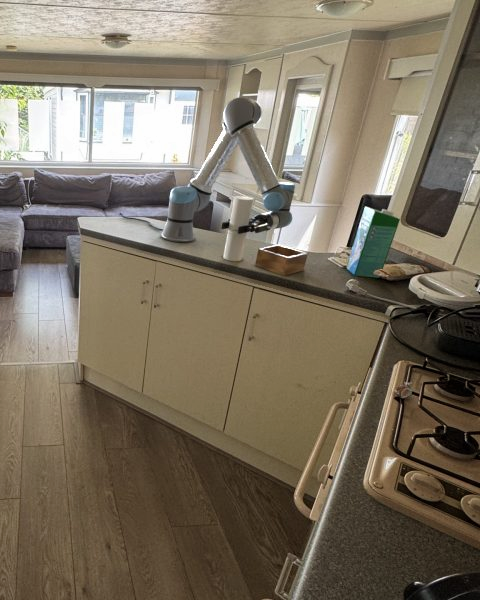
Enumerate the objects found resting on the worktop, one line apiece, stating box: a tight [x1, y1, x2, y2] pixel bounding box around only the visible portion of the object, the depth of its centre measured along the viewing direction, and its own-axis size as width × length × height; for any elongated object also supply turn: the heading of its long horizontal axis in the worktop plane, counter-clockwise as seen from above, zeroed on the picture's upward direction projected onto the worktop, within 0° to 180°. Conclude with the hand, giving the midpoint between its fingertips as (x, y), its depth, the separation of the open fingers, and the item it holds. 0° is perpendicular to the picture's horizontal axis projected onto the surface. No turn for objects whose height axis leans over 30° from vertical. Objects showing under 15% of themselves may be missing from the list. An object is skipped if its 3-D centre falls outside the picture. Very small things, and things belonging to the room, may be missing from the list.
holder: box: [254, 244, 309, 277], centre depth 168 cm, size 13×13×7 cm
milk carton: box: [345, 206, 401, 279], centre depth 163 cm, size 9×9×25 cm
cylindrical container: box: [222, 195, 254, 262], centre depth 174 cm, size 7×7×25 cm
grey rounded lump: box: [394, 381, 413, 399], centre depth 93 cm, size 3×2×4 cm
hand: (230, 228), depth 171 cm, fingers closed on cylindrical container, 7 cm apart
